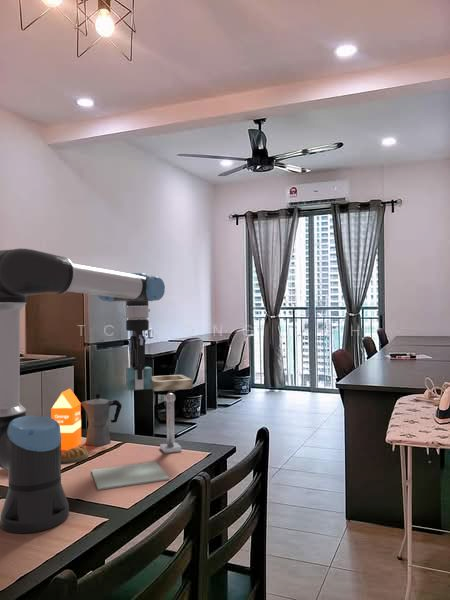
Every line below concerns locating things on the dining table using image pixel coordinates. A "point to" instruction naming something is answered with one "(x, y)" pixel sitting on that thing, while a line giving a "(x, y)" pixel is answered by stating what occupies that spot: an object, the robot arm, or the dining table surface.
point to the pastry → (74, 454)
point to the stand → (170, 427)
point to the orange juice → (68, 419)
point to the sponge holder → (158, 381)
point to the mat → (128, 475)
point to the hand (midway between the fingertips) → (137, 387)
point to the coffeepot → (99, 420)
